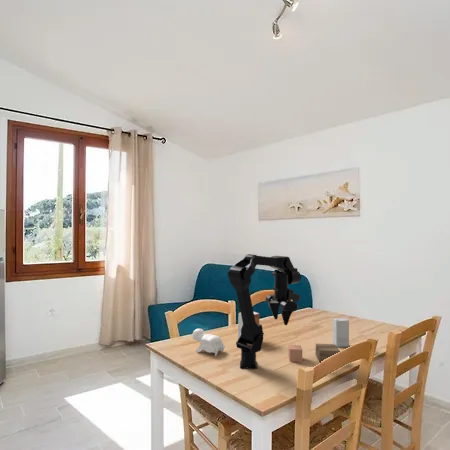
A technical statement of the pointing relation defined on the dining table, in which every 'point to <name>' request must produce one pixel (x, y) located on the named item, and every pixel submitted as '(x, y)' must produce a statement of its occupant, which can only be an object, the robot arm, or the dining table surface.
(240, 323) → the small box
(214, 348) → the white animal figurine
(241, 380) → the dining table surface
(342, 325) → the skincare box
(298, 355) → the terracotta cube
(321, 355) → the walnut block
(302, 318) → the dining table surface
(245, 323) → the robot arm
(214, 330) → the dining table surface
